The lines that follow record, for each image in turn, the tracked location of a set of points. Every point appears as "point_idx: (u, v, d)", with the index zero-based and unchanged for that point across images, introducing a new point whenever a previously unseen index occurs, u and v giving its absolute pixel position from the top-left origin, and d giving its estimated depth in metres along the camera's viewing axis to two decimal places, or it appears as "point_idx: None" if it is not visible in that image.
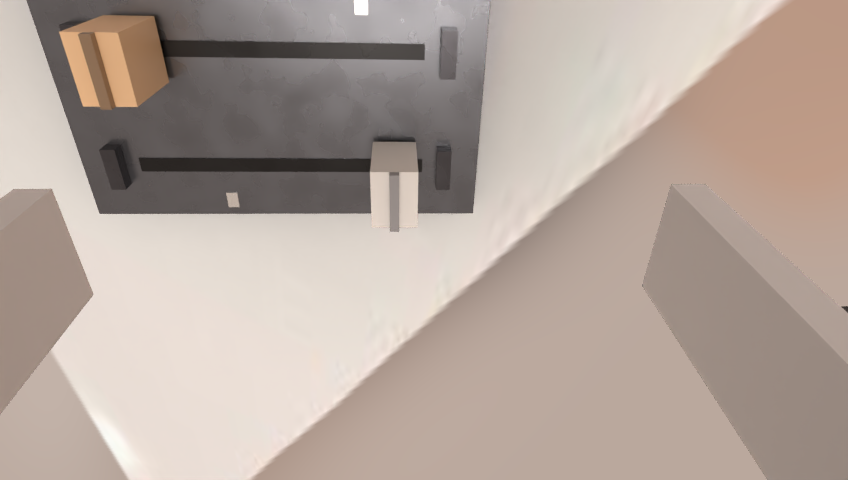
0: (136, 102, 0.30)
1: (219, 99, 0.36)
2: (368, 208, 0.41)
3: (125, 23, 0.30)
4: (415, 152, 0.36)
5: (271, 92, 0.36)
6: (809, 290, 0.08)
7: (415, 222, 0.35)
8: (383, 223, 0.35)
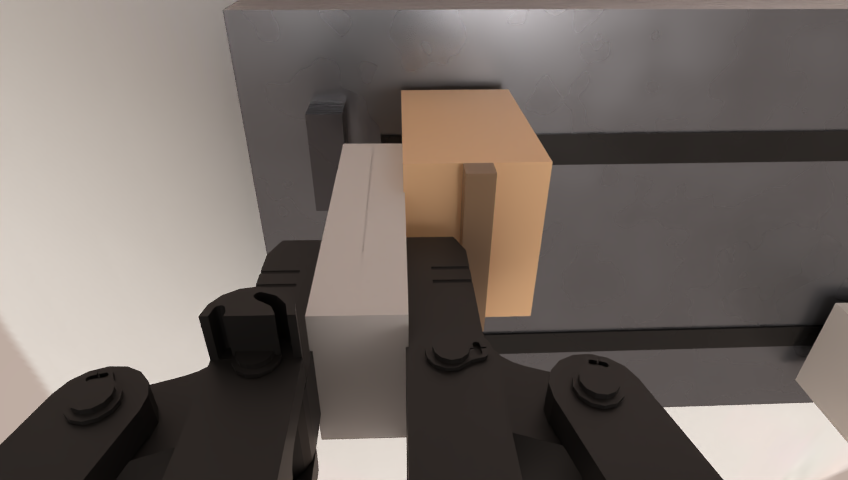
0: (531, 307, 0.13)
1: (570, 237, 0.18)
2: (762, 397, 0.23)
3: (498, 119, 0.13)
4: None
5: (674, 223, 0.18)
6: (394, 218, 0.10)
7: None
8: None
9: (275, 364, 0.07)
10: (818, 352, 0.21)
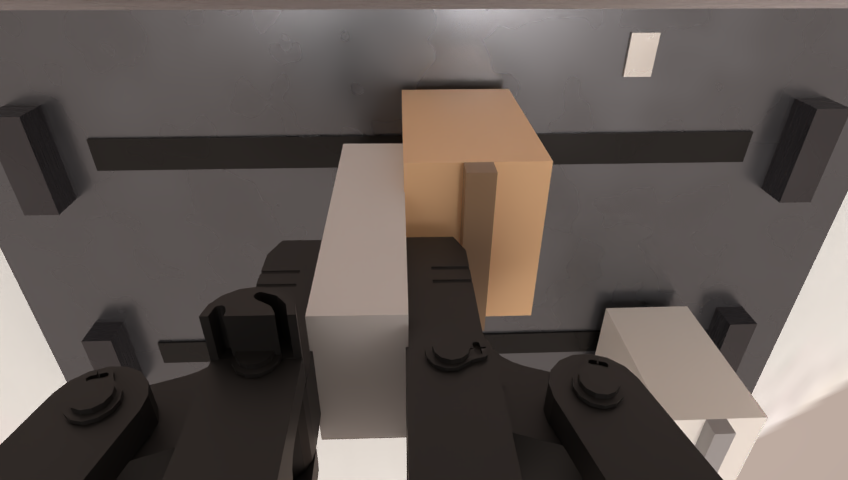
0: None
1: None
2: None
3: (499, 119, 0.13)
4: (710, 342, 0.18)
5: None
6: (394, 218, 0.10)
7: None
8: None
9: (275, 364, 0.07)
10: None
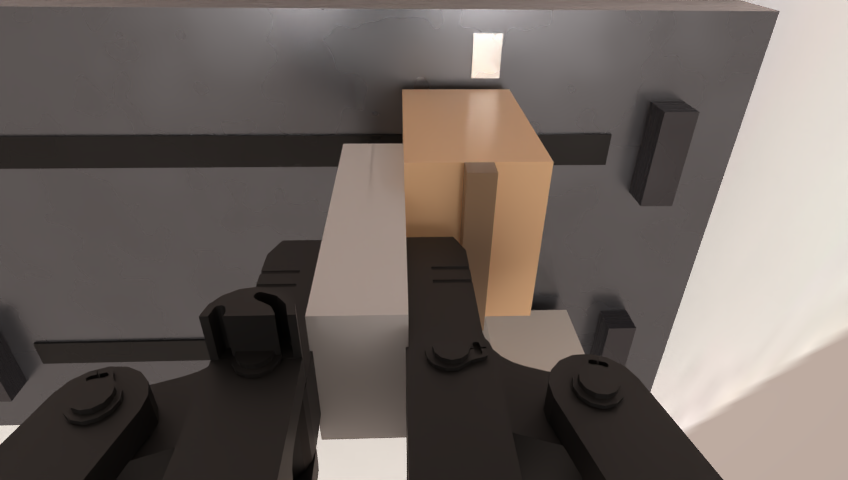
0: None
1: (182, 242, 0.18)
2: None
3: (499, 119, 0.13)
4: (579, 346, 0.18)
5: (287, 228, 0.18)
6: (394, 218, 0.10)
7: None
8: None
9: (275, 364, 0.07)
10: None
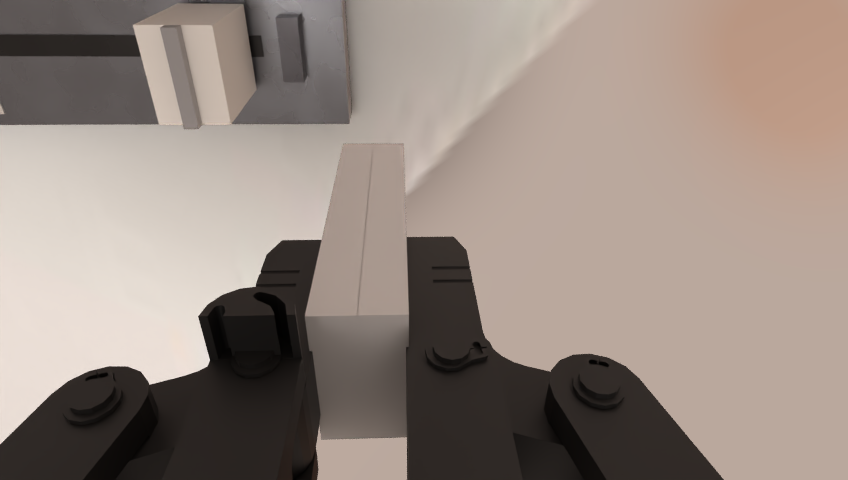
0: None
1: None
2: None
3: None
4: (230, 10, 0.23)
5: None
6: (394, 218, 0.10)
7: (226, 115, 0.23)
8: (175, 116, 0.23)
9: (274, 364, 0.07)
10: None
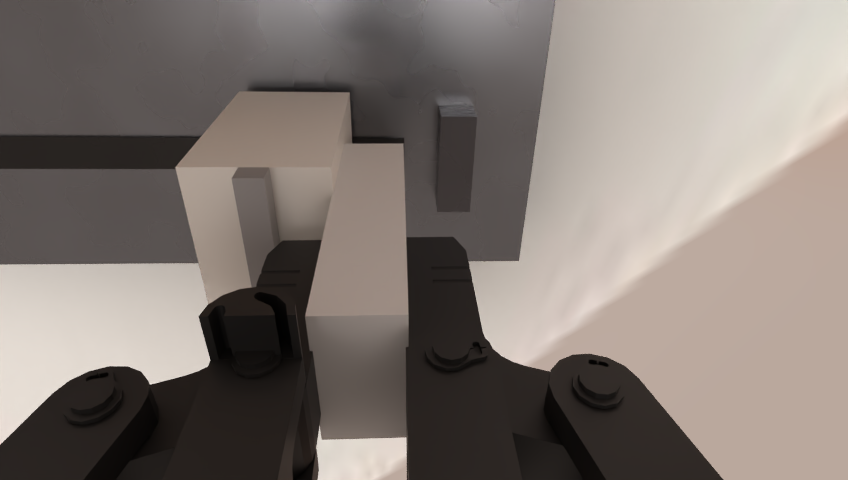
0: None
1: None
2: None
3: None
4: (340, 114, 0.13)
5: None
6: (394, 218, 0.10)
7: None
8: None
9: (275, 364, 0.07)
10: None
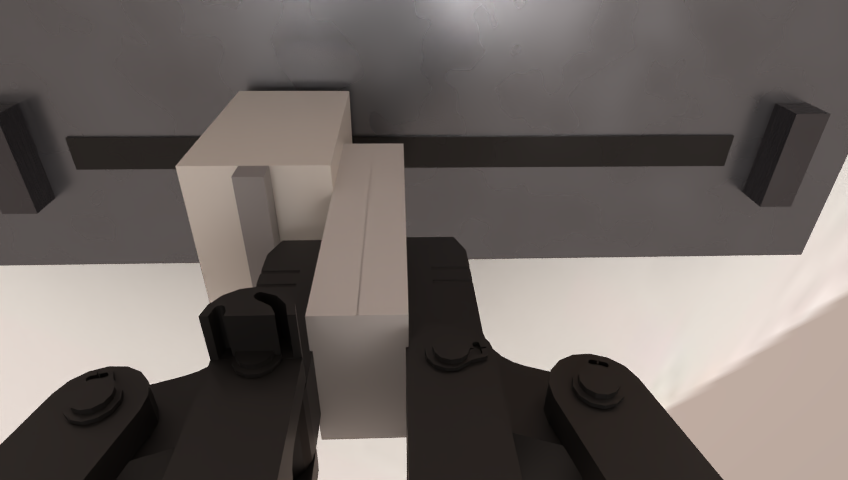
0: None
1: None
2: (582, 247, 0.18)
3: None
4: (339, 113, 0.13)
5: None
6: (394, 218, 0.10)
7: None
8: None
9: (275, 364, 0.07)
10: None
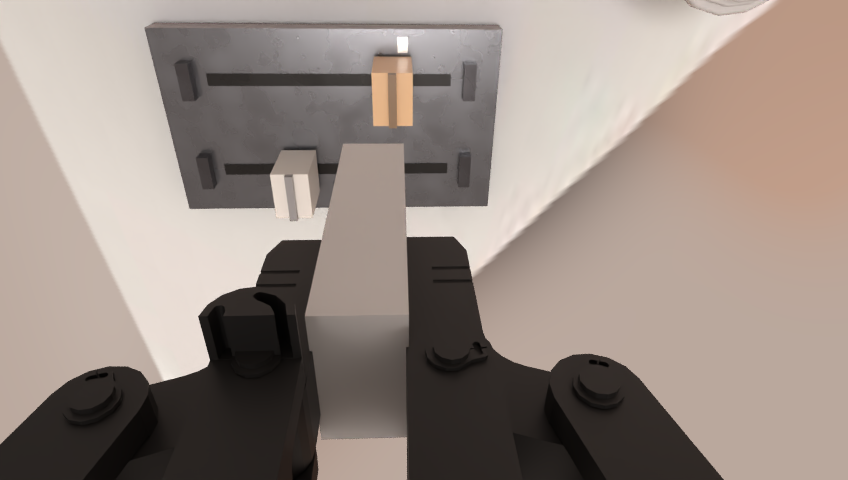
0: (412, 122, 0.41)
1: (289, 117, 0.46)
2: None
3: (403, 64, 0.41)
4: (311, 158, 0.45)
5: (330, 112, 0.46)
6: (395, 218, 0.10)
7: (310, 213, 0.45)
8: (285, 214, 0.45)
9: (274, 364, 0.07)
10: None
